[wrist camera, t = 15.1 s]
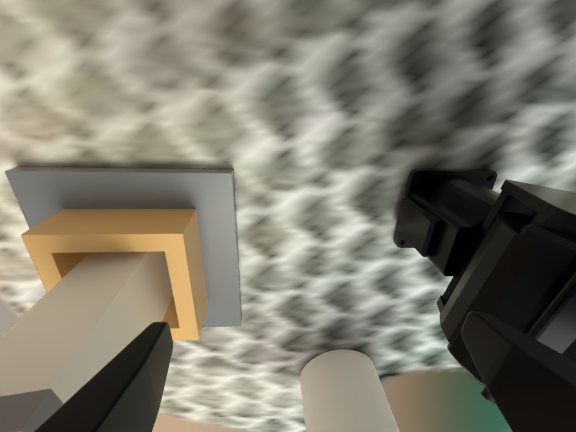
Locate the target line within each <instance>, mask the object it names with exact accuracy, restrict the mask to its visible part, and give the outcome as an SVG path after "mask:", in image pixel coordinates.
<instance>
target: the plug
mask: <svg viewBox="0 0 576 432" xmlns="http://www.w3.org/2000/svg"><path fill="white" fill-rule="evenodd" d="M172 297H173V291H172V286H171V281H170V276H169V271H168V265H167V260H166V255H165V251H158V252H90V253H89V254H87V255H86V256H85V257H84V258H83V259H82V260H81V261H80V262H79V263H78V264H77V265H76V266H75V267H74V268H73V269H72V270H71V271H70V272H69V273H68V274H67V275H65V276H64V277H63V278H62V279H61V280H60V281H59V282H58V283H57V284H56V285H55V286H54V287H53V288H52V289H51V290H50V291H49V292H48V293H47V294H46V295H45V296H44V297H42V298H41V299H40V300H39V301H38V302H37V303H36V304H35V305H34V306H33V307H32V308H31V309H30V310H29V311H28V312H27V313H26V314H25V315H24V316H23V317H22V318H20V319H19V320H18V321H17V323H15V324H14V325H13V326H12V327H11V328H10V329H9V330H8V331H7V332H6V333H5V334H4V335H3V336H2V337H1V338H0V432H34V431H35V430H36V429H37V428H38V427H39V426H40V425H41V424H42V423H44V422H45V421H46V420H47V419H48V418H49V417H50V416H51V415H52V414H53V413H54V412H55V411H57V410H58V409H59V408H60V407H61V406H62V405H63V404H64V403H65V402H66V401H67V400H68V399H70V398H71V397H72V396H73V395H74V394H75V393H76V392H77V391H78V390H79V389H80V388H81V387H83V386H84V385H85V384H86V383H87V382H88V381H89V380H90V379H91V378H92V377H93V376H94V375H96V374H97V373H98V372H99V371H100V370H101V369H102V368H103V367H104V366H105V365H106V364H107V363H109V362H110V361H111V360H112V359H113V358H114V357H115V356H116V355H117V354H118V353H119V352H120V351H122V350H123V349H124V348H125V347H126V346H127V345H128V344H129V343H130V342H131V341H132V340H133V339H135V338H136V337H137V336H138V335H139V334H140V333H141V332H142V331H143V330H144V329H145V328H146V327H148V326H149V325H150V324H151V323H153V322H162V320H163V318H164V316H165V313H166V311H167V309H168V306H169V304H170V302H171V300H172Z"/></svg>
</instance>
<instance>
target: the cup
mask: <svg viewBox="0 0 576 432" xmlns="http://www.w3.org/2000/svg"><path fill="white" fill-rule="evenodd" d="M300 383H301V391H302V400H303V408H304V417H305V426H306V432H399V429H398V427H397V424H396V421H395V419H394V416H393V413H392V411H391V408H390V406H389V403H388V400H387V398H386V395H385V393H384V390H383V387H382V385H381V382H380V380H379V377H378V374H377V372H376V369H375V367H374V364H373V362H372V360H371V359H370V358H369V357H368V356H367V355H365V354H363V353H361V352H358V351H354V350H346V349H343V350H333V351H329V352H326V353H323V354H321V355H318V356H317V357H315V358H313V359H312V360H311V361H309V362H308V363H307V364H306V365H305V367H304V368H303V370H302V372H301V375H300Z"/></svg>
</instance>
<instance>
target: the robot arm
mask: <svg viewBox="0 0 576 432" xmlns="http://www.w3.org/2000/svg"><path fill="white" fill-rule="evenodd" d="M417 174H419V177H418V178H417V179H415V177H416V175H417ZM489 175H490V176H489ZM488 176H489V178H488V179H487V177H488ZM496 178H497V173H496V172H494V171H492V170H475V169H415V170H413V171H412V172H411V173H410V175H409V180H408V184H407V188H406V192H405V196H404V197H403V199H402V202H401V206H400V211H399V215H398V219H397V224H396V228H397V231H396V235H395V239H394V242H395V244H396V245H397V246H398V247H400V248H415V249H416V250H417V251H418V252H419V253H420V254H421V255H422V256H423V257H428V258H429V260H430V261H431V262H432V263H433V264H434V265H435V266H436V267H437V268H438V269H439V270H440V271H441V272H442V273H443V275H444V276H454V277H453V278H452V280H451V282H450V284H449V285H448V287H447V289H446V291H445V293H444V294H443V296H440V298H439V299H438V301H437V305H438V308H439V311H440V324H441V328H442V330H443V332H444V334H445V336H446V338H447V340H448V341H449V344H448V346H447V348H448V350H449V351H450V353H451V354H452V356H453V357H454V358H455V359H456V360H457V361H458V363H459V364H460V365H461V366H462V367H463V368H464V369H465V370H466V371H467V372H468V373H469V374H470V375H471V376H472V377H474V379H476V380H477V381H478V382H479V383H481V384H482V385H483V386H485V387H484V388H483V389H482V391H481V394H482V395H483V397H485V398H486V399H487V400H489V401H491V402H493V403H495V404H496V405H497V406H498V408H499V410H500V411H501V413H502V415H503V416H504V418H505V420H506V421H507V423H508V424H509V426H510V428H511V430H512V431H513V432H576V193H573V192H568V191H563V190H558V189H553V188H548V187H543V186H537V185H532V184H527V183H522V182H517V181H512V180H505V182H504V183H503V185H502V187H501V190H502V191H501V193H500V194H499V193H497V192H495V191H493V190H492V189H493V186H494V183H495V181H496ZM401 240H403V241H402V242H400V241H401ZM399 242H400V243H399ZM172 350H173V340H172V335H171V330H170V326H169V323H168V322H153V323H151V324H150V325H149V326H148V327H146V328H145V329H144V330H143V331H142V332H141V333H140V334H139V335H138V336H137V337H136V338H135V339H133V340H132V341H131V342H130V343H129V344H128V345H127V346H126V347H125V348H124V349H123V350H122V351H120V352H119V353H118V354H117V355H116V356H115V357H114V358H113V359H112V360H111V361H110V362H109V363H107V364H106V365H105V366H104V367H103V368H102V369H101V370H100V371H99V372H98V373H97V374H96V375H94V376H93V377H92V378H91V379H90V380H89V381H88V382H87V383H86V384H85V385H84V386H83V387H81V388H80V389H79V390H78V391H77V392H76V393H75V394H74V395H73V396H72V397H71V398H70V399H68V400H67V401H66V402H65V403H64V404H63V405H62V406H61V407H60V408H59V409H58V410H57V411H55V412H54V413H53V414H52V415H51V416H50V417H49V418H48V419H47V420H46V421H45V422H44V423H42V424H41V425H40V426H39V427H38V428H37V429H36V430H35V431H34V432H152V430H153V426H154V424H155V420H156V417H157V414H158V411H159V407H160V403H161V399H162V395H163V390H164V386H165V381H166V377H167V373H168V368H169V364H170V359H171V355H172Z"/></svg>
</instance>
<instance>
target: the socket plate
mask: <svg viewBox="0 0 576 432" xmlns="http://www.w3.org/2000/svg"><path fill="white" fill-rule="evenodd" d="M5 173H6V175H7V177H8V180H9V182H10V184H11V187H12V189H13V191H14V194H15V196H16V198H17V201H18V203H19V205H20V208H21V210H22V212H23V215H24V217H25V219H26V221H27V224H28V226H29V228H30V230H28V231H26V232H25V233H23V234H21V237H22V239H23V241H24V243H25V246H26V248H27V250H28V252H29V254H30V257H31V259H32V261H33V263H34V266H35V268H36V270H37V272H38V274H39V277H40V279H41V281H42V283H43V285H44V288H45V290H46V292H47V293H48V292H49V291H50V290H51V289H52V288H53V287H54V286H55V285H56V284H57V283H58V282H59V281H60V280H61V279H62V278H63V277H64V276H65V275H67V274H68V273H69V272H70V271H71V270H72V269H73V268H74V267H75V266H76V265H77V264H78V263H79V262H80V261H81V260H82V259H83V258H84V257H85V256H86V255H87V254H89V253H90V252H158V251H165V255H166V260H167V265H168V271H169V276H170V281H171V286H172V291H173V297H172V300H171V302H170V304H169V306H168V309H167V311H166V313H165V316H164V318H163V320H162V322H168V323H169V326H170V330H171V335H172V340H173V341H179V340H199V338H200V334H201V330H202V327H226V326H241V320H242V313H241V295H240V277H239V259H238V241H237V223H236V205H235V187H234V169H164V168H76V167H16V168H13V169H10V170H7V171H5Z"/></svg>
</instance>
